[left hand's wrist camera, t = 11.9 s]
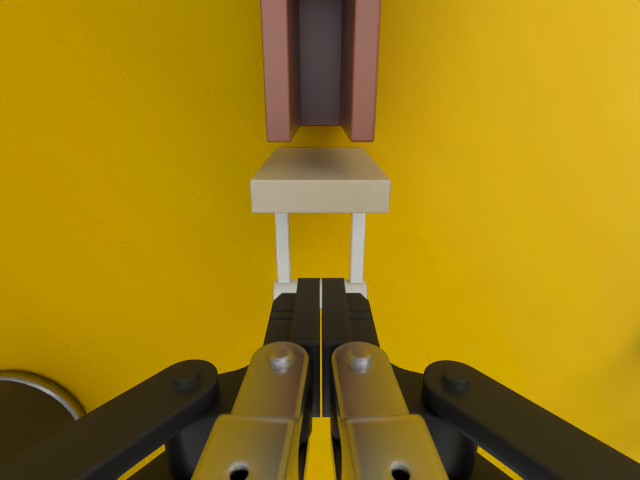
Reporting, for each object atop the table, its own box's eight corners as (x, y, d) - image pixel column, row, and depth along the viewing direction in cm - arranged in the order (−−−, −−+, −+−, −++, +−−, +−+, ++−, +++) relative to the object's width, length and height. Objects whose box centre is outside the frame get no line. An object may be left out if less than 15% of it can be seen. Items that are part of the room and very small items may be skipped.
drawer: (358, 264, 24) (379, 355, 15) (281, 264, 24) (260, 354, 15) (379, -243, 16) (447, -630, 7) (262, -244, 16) (197, -630, 7)
